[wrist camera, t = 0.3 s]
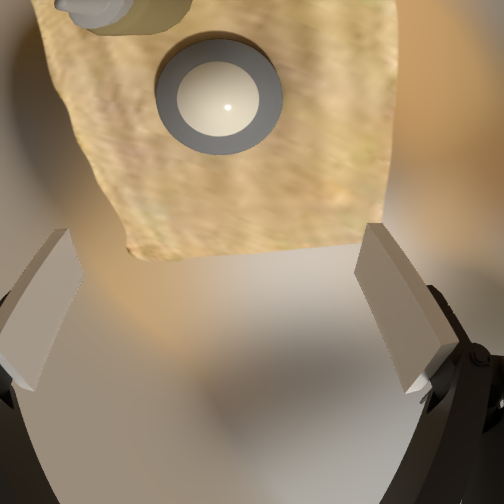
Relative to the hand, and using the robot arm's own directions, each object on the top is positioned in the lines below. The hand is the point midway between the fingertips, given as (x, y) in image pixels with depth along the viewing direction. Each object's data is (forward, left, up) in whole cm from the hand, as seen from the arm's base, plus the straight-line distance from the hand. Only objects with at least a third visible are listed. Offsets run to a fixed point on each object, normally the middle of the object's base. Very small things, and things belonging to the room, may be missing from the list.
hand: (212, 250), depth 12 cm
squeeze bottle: (-1, -15, -24) cm, 29 cm away
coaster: (+3, -2, -24) cm, 24 cm away
